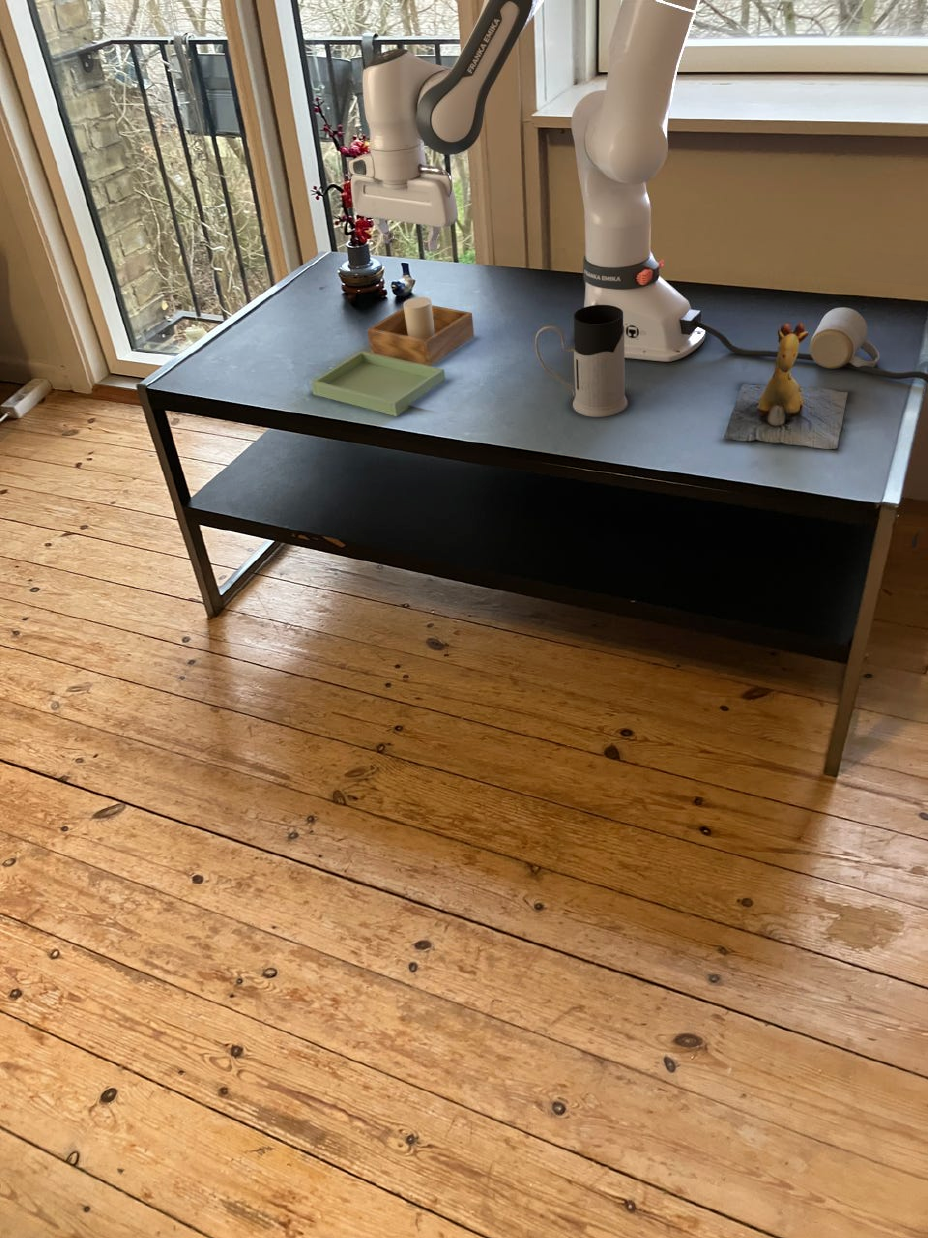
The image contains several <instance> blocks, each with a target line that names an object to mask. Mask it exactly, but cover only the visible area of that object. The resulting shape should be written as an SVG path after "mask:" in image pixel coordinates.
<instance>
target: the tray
mask: <svg viewBox="0 0 928 1238" xmlns="http://www.w3.org/2000/svg"><path fill="white" fill-rule="evenodd" d="M445 380H446V376H445V368H440V367H435V366H427V365H423V364H418V363H414V362H409V361H405V360H401V359H396V358H392V357H387V356H383V355H378V354H374V353H371V351H370V352H369V351H365V350H360V351H359V352H357V353H355V354H353V355H352V356H350V357H349V358H347V359H345V360H344V361H342V362H341V363H339V364H337V365H336V366H334V367H333V368H331V369H329V370H328V371H327V372H325V373H323V374H321V375H320V376H318V377H317V378H315V379H314V380H312V381H311V383H310V385H311V388H312V393H313V395H314V396H317V397H321V398H325V399H329V400H332V401H337V402H339V403H344V404H348V405H352V406H355V407H359V408H363V409H367V410H371V411H374V412H378V413H383V414H385V415H390V416H393V417H399V416H400V415H402V413H404V412H405V411H407V410H408V409H409V408H411V407H412V405H411V404H412V403H414V402H415V401H417V400H418V399H419V398H421V397H423V396H424V395H426V394H427V393H428V392H429V391H431V390H432V389H434V388H435V387H436V386H438V385H439V384H441V383H442V382H444V381H445Z"/></svg>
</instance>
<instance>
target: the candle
mask: <svg viewBox="0 0 928 1238" xmlns="http://www.w3.org/2000/svg"><path fill="white" fill-rule="evenodd" d="M402 304H403V307H404V312H405V319H406V326H407V334H408V336H410V337H415V338H420V339H424V340H427V339H428V338H430V337H431V336H433V335H434V334H435V328H434V320H433V312H432V304H433V303H432V299H431V298H429V297H425V296H417V297H416V296H415V297H411V298H408V299H406V300H405V301H404V302H403V303H402Z"/></svg>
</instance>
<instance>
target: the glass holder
mask: <svg viewBox="0 0 928 1238" xmlns="http://www.w3.org/2000/svg"><path fill="white" fill-rule="evenodd" d="M547 330H553V331H555V332H557V333H558V334H559V336H560V339H561V347H562V349H563V350H564V351H565V352H567V353H573V364H574V365H573V366H574V367H573V369H574V370H573V371H574V387H573V386H572V385H571V384H569V383H568V382H567V381H565V379H563V378H561V377H559V376H558V375H556V374H555V373H554V372H552V371H551V370H550V369H549V368H548V367H547V365H546V364H545V362H544V360H543V359H542V357H541V353H540V351H539V344H538V340H539V336H540V334H541V333H542V332H545V331H547ZM573 332H574V333H573V335H574V336H573V337H574V345H573V348H567V347H566V345H565V337H564V334H563V332H562V331H561V329H560V328H558V327H556V326H554V325H546V326H544V327H542V328H540V329H538V331H537V333H536V334H535V341H534V344H535V353H536V356H537V359H538V361H539V363H540V364H541V366H542V368H543V369H544V371H545V373H547V374H548V375H550V376H551V377H552V378H554V379H555V380H556V381H558V382H559V383H561V384H563V385H564V386H565V387H567V388H568V389H570V390H571V391H572V395H573V397H574V400H573V402H572V408H573V409H574V411H576V413H578V414H580V415H583V416H587V417H592V418H593V417H594V418H601V417H603V418H604V417H610V416H614V415H616V414H618V413H621V412H623V411H624V410H625V409H626V408H627V406H628V398H627V397H626V394H625V393H626V391H625V389H626V387H625V385H626V384H625V381H626V380H625V378H626V377H625V375H626V374H625V373H626V372H625V370H626V369H625V366H626V365H625V359H626V358H625V354H624V326H623V311H622V310H621V309H620V308H618V307H615V306H611V305H592V306H587V307H584V306H583V307H581V308H579V309H577V310H576V311H575V312H574V314H573Z"/></svg>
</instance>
